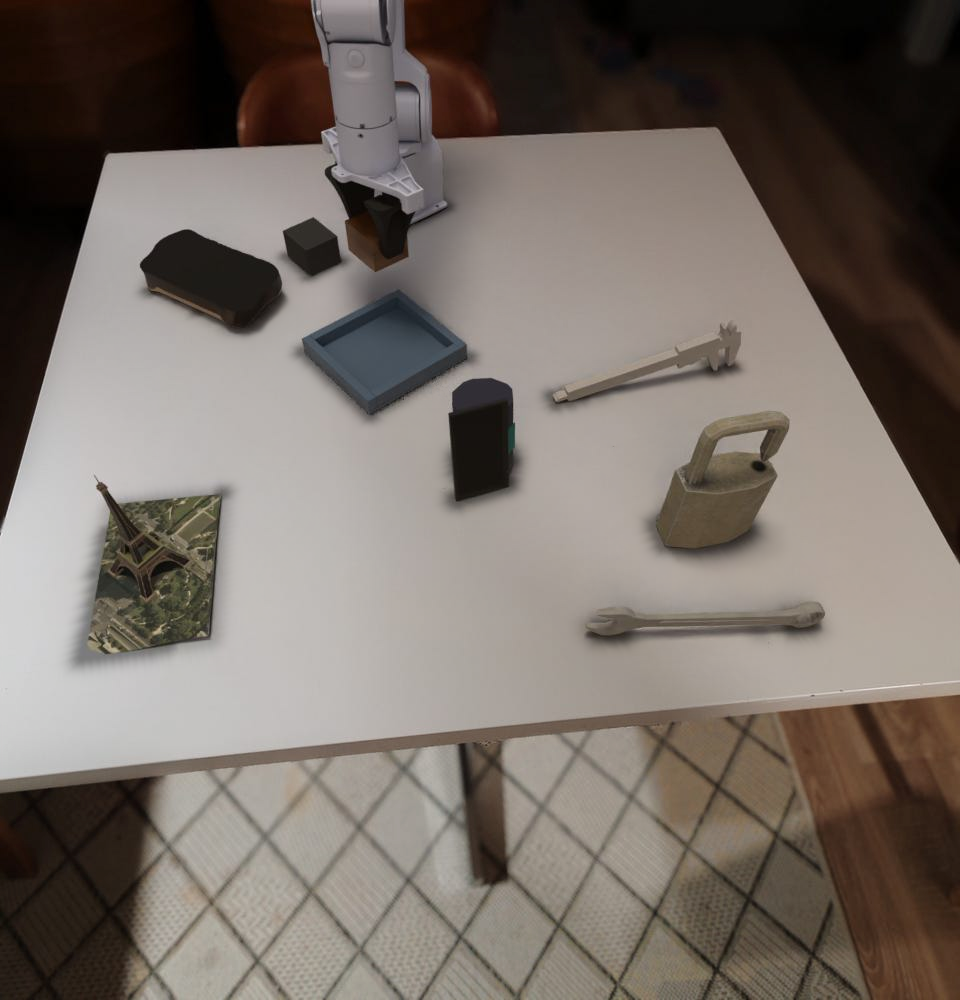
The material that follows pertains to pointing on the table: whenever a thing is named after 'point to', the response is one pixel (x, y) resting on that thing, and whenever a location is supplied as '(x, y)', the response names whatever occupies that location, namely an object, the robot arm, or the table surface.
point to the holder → (384, 350)
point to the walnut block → (369, 242)
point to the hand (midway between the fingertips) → (378, 241)
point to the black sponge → (211, 277)
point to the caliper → (662, 362)
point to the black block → (312, 246)
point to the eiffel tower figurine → (155, 572)
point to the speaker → (481, 436)
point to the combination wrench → (705, 618)
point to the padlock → (721, 484)
